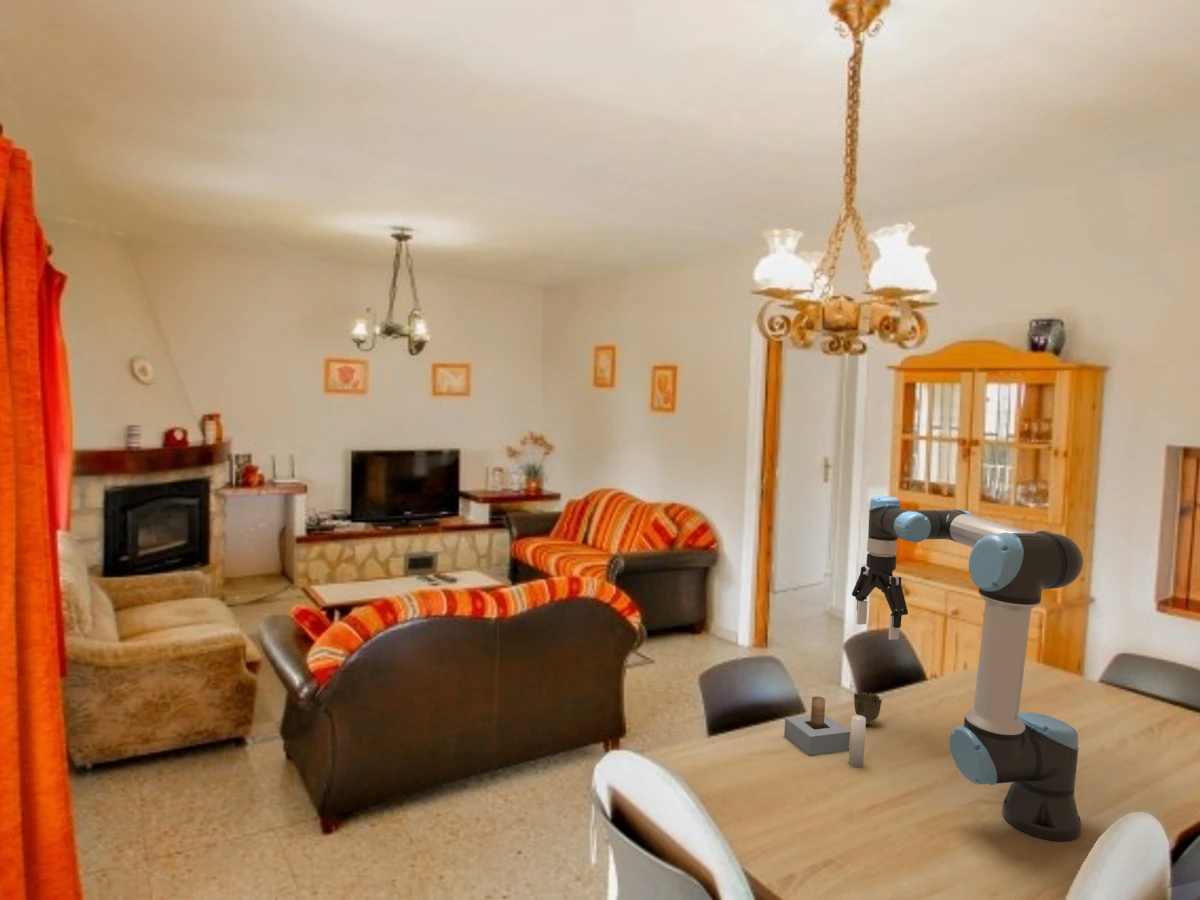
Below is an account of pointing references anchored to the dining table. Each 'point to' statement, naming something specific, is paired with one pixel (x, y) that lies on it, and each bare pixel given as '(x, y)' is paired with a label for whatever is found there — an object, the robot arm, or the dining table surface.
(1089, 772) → the dining table surface
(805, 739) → the socket block
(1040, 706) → the dining table surface
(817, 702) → the walnut peg
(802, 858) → the dining table surface
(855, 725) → the pale grey cylinder
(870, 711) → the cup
